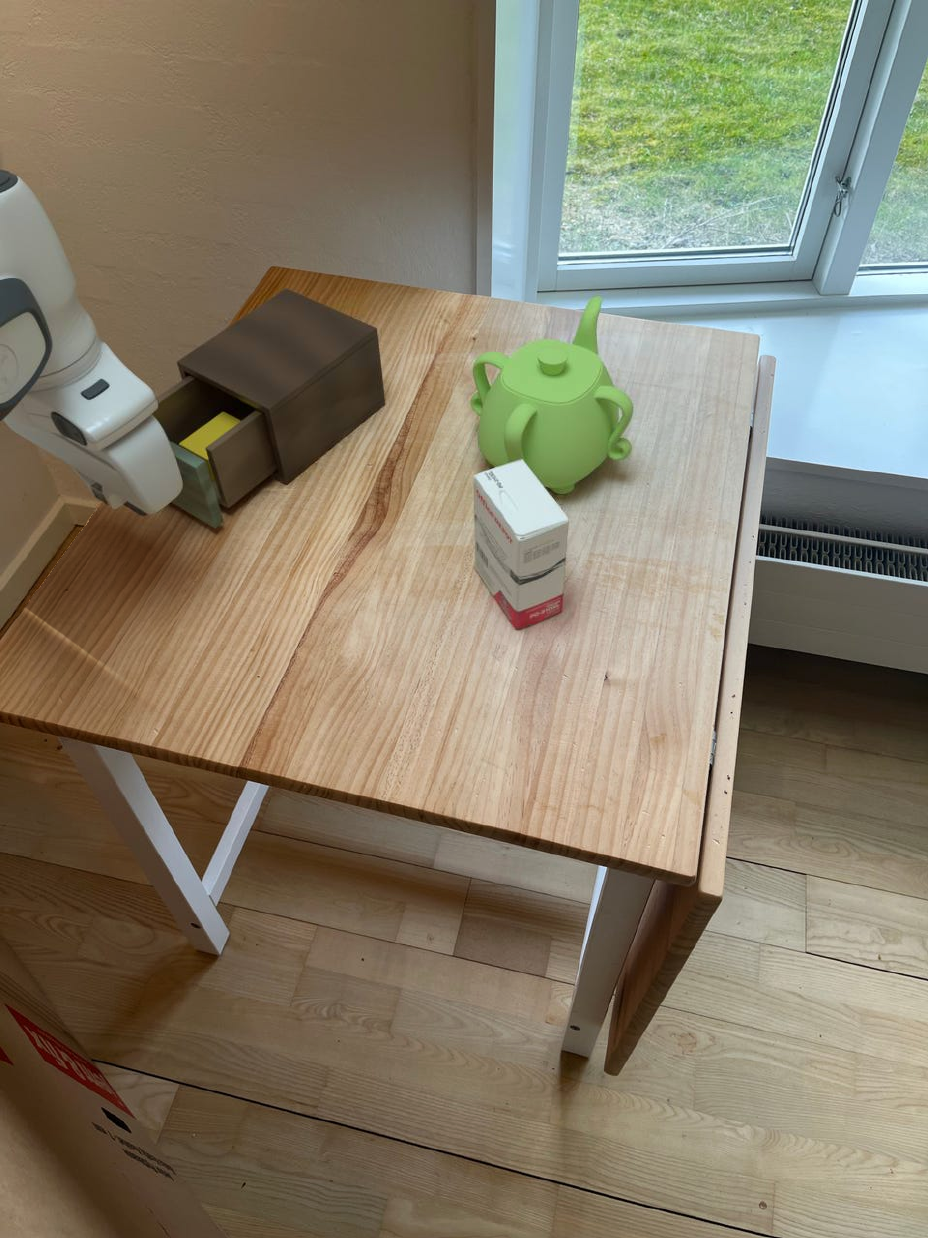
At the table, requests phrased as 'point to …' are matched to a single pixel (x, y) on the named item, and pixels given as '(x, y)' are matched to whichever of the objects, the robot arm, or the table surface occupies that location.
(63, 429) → the robot arm
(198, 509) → the drawer
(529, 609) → the ink box
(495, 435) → the teapot
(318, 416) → the cabinet
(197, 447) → the sponge
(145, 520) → the table surface
